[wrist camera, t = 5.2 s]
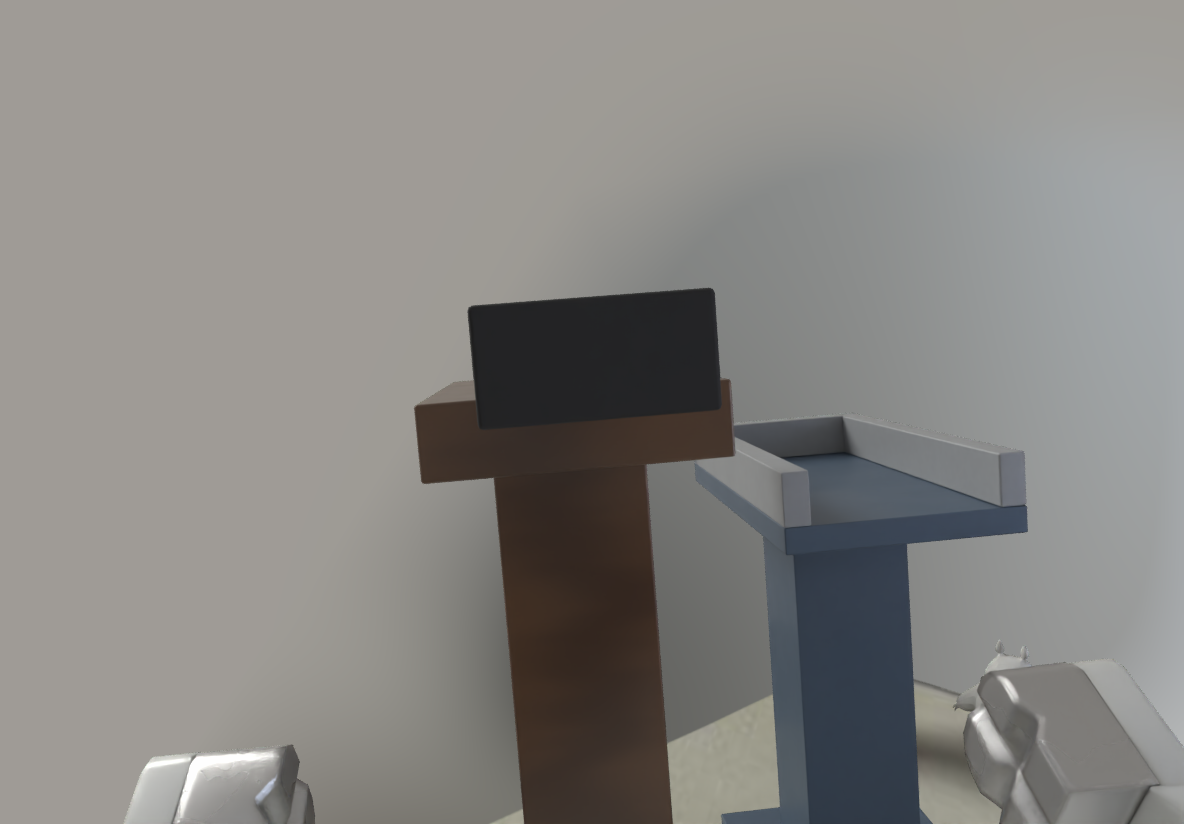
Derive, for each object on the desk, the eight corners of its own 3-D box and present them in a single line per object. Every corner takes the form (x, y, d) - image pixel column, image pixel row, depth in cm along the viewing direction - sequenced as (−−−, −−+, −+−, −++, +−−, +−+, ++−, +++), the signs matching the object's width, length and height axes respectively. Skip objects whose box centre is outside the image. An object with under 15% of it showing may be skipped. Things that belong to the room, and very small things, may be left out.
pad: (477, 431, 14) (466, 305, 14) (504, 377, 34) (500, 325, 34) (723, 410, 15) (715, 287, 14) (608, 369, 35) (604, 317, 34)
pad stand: (467, 1359, 24) (372, 408, 22) (485, 1024, 36) (425, 384, 34) (826, 1303, 25) (770, 375, 23) (729, 992, 37) (686, 363, 35)
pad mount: (803, 1053, 34) (767, 474, 32) (709, 814, 51) (682, 427, 49) (1058, 1019, 34) (1038, 449, 32) (882, 794, 51) (862, 411, 49)
